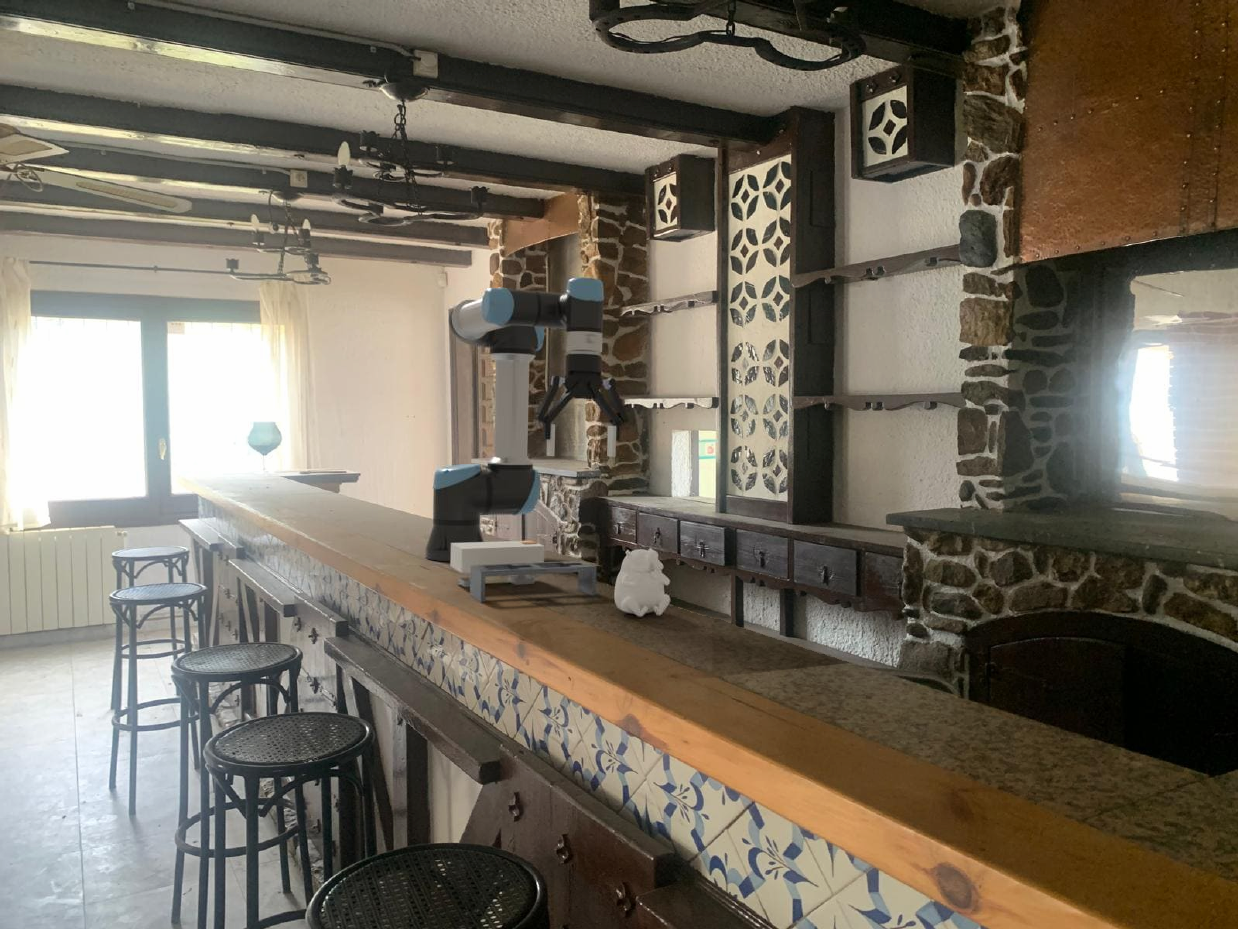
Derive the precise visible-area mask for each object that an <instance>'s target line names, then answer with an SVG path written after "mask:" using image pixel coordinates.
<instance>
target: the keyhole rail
mask: <svg viewBox="0 0 1238 929" xmlns="http://www.w3.org/2000/svg"><path fill="white" fill-rule="evenodd" d="M506 569H510V570H506ZM565 573H566V574H567V573H569V574H570V573H578V574H577V578H578V579H577V590H579V591H580V592H583V593H584V594H588V595H589V596H591V597H596V596H597V595H596V594H597V565H594V564H592V563H590V562H587V561H584V560H570V561H546V562H545V561H544V562H540V563H516V564H492V565H471V569H470V587H469V596H470V597H472V598H473V599H475V600H476V601H478V602H479V603H485V601H486V577H502V576H506V577H507V576H511V575H542V574H543V575H545V574H548V575H549V574H565Z"/></svg>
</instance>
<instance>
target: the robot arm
mask: <svg viewBox="0 0 1238 929" xmlns="http://www.w3.org/2000/svg"><path fill="white" fill-rule="evenodd" d="M604 295H605V294H604V283H603V281H602V280H601V279H598V278H595V277H593V278H592V277H573V278H571V279H568V282H567V288H566V292H565V293H561V292H550V291H549V292H548V291H547V292H546V291H539V290H537V291H535V290H527V289H526V290H524V289H514V288H506V287H489V288H487V289H486V290H485V291H484V293H483V295H482V298H480V299H477V300H476V299H464V300H462V301H460V302H458V303H457V304H455V305H454V306H453V307H452V309H451V310H450V311H449V316H448V325H449V329H450V331H451V333H452V334H453V336H455V337H456V338H457V339H458V340H460V341H461V342H463V343H465V344H467V345H470V346H473V347H479V348H489V356H490V357H491V358H492V359H493V361H494V362H495V371H494V372H495V379H494V380H495V381H494V384H495V385H494V420H493V421H494V423H493V424H494V426H493V427H494V429H493V456H492V457H491V458H490V459H489V460H488V461H487V468H486V469H483V468H482V465H481V464H480V463H468V464H467V463H465V464H455V465H450V466H449V465H448V466H444V467H443V466H442V467H440V468H438V469H436V471H435V472H434V475H433V485H432V489H433V496H432V497H433V506H432V507H433V508H432V527H431V528H432V529H431V532H430V535H429V538H428V541H427V542H426V543H427V544H426V546H425V548H424V549H425V550H424V551H425V553H424V554H425V556H424V557H425V558H426V559H427V560H433V561H442V562H451V543H470V542H485V540H484V536H483V533H482V530H481V516H501V515H502V516H505V515H507V516H511V515H512V516H518V515H527V514H530V513H531V512H533V511H534V509H535V508H536V506H537V504H538V502H539V498H540V494H541V489H542V488H541V487H542V480H541V475H540V472H539V471H538V470H536V469H535V468H534V463H533V461H532V460H531V459H530V458H529V457H528V443H529V442H528V437H529V434H528V432H529V396H530V395H529V393H530V392H529V391H530V386H529V385H530V363H531V362H532V361H533V360H534V359H535V358H536V352H537V351H539V350H541V349H542V348H543V346H544V339H545V328H546V329H548V328H549V329H553V330H556V331H564V332H566V336H565V352H567V353H568V354H566V355H565V370H564V371H565V373H564V374H565V375H564V377H561V376H559V375H552V376H551V377H550V378H549V385H548V386H549V387H548V388H547V390H546V392H545V394H544V396H543V398H542V400H541V402H540V405H539V406H538V408H537V410H536V412H535V414H534V417H533V418H534V420H535V421H538V422H540V423H542V439H543V440H546V456H547V457H555V449H556V448H555V446H556V445H555V443H556V424H554V423H553V424H552V422H553V421H554V420H555V419H556V418H557V417H558V415H559V414H561V412H562V411H563V409H565V407H566V406H567V405H568V403H569V402H570V401H571V400H573V399H575V400H577V399H578V400H579V399H581V400H582V399H583V400H592V401H594V402H595V404H596V405H597V406H598V408H599V409H600V410H601V412H602V413H603V415H604V416H605V417H606V418H607V420H608V421H609V422H610V424H611V425H607V440H606V441H607V442H606V443H607V445H606V446H607V448H606V449H607V454H606V456H607V457H611V458H616V454H617V452H616V450H617V449H616V448H617V441H618V442H619V441H620V438H621V436H620V435H621V426H622V425H623V424H628V423H629V421H630V419H629V416H628V414H627V412H626V409H625V405H624V404H623V402H622V400H621V397H620V394H619V392H618V390H617V382H616V379H615V378H613V377H612V378H607V379H603V377H602V367H603V366H602V361H603V356H602V355H600V354H601V353H602V352H603V325H604V322H603V321H604V318H603V317H604V300H605V296H604ZM562 385H564V387H565V389H566V390H565V391H564V392H563V394H562V395H561V397H560V398H559V399H558V401H557V402H555V404H554V405H553V406H552V407H551V409H550V410H549V408H550V406H551V404H552V402H553V400H554V398H555V397H556V394H557V392H558V390H559V388H561V387H562ZM602 387H603V388H604V389H605V390H606V394H607V396H608V398H609V399H610V402H611V405H612V406H613V408H612V407H611V406H610V405H609V403H608V402H607V401H606V399H605V398H604V394H602V392H601V388H602ZM613 409H614V410H613ZM548 410H549V411H548Z"/></svg>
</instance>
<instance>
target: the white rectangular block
mask: <svg viewBox="0 0 1238 929" xmlns="http://www.w3.org/2000/svg"><path fill="white" fill-rule="evenodd" d="M545 549H546V548H545V545H543V544H541V543H538V542H536V541H533V540H512V541H511V540H509V541H507V540H506V541H505V540H504V541H484V542H470V543H451V561H450V567H451V568H453V569H454V570H455V571H457V572H459V573H460V574H466V573H467V574H468V577H458V584H459V585H460V586H462V587H464V588H470V569H471V565H492V564H516V563H540V562H545ZM506 570H510V569H506ZM508 582H509V583H511V584H513V585H514V586H515V585H516V586H517V585H531V584H535V577H533V576H531V575H530V574H528V575H508Z"/></svg>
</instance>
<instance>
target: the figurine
mask: <svg viewBox="0 0 1238 929" xmlns="http://www.w3.org/2000/svg"><path fill="white" fill-rule="evenodd" d="M625 554H626V556H625V557H624V558H623V560H622V563H621V567H620V571H619V572H618V575H617V577H616V581H615V585H614V596H613V597H614V603H615V605H616V607H617V609H618V610H621V611H623V612H624V613H627V614H631V615H632V614H633V615H636V616H637V617H640V618H641V617H643V616H644V615H645V614H650V613H651V612H655V614H656V616H661V615H663V613H664V612H665V610H666V609H667V608H668V606H669V604H670V603H671V597H670V595H669V594H667V593H665V586H669V585H670V583H671V581H670V579H669V578H668V577H667V576H666V575H665V574H664V572H662V570H663V569H664V564H663V563H662V562H661V561H660V559H659V553H658V551H656V550H654V549H653V548H652V547H650V548H649V549H639V548H638V549H635V550H634V549H633V550H632V551H630V550H629V549H626V551H625Z"/></svg>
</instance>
